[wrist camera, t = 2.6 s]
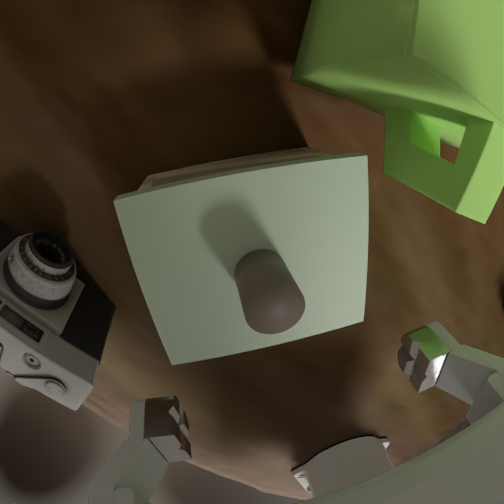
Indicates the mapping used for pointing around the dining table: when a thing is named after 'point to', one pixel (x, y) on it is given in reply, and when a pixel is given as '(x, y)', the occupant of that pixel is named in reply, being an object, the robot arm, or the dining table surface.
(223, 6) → the dining table surface
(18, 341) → the camera
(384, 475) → the robot arm
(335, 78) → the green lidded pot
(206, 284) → the lid
